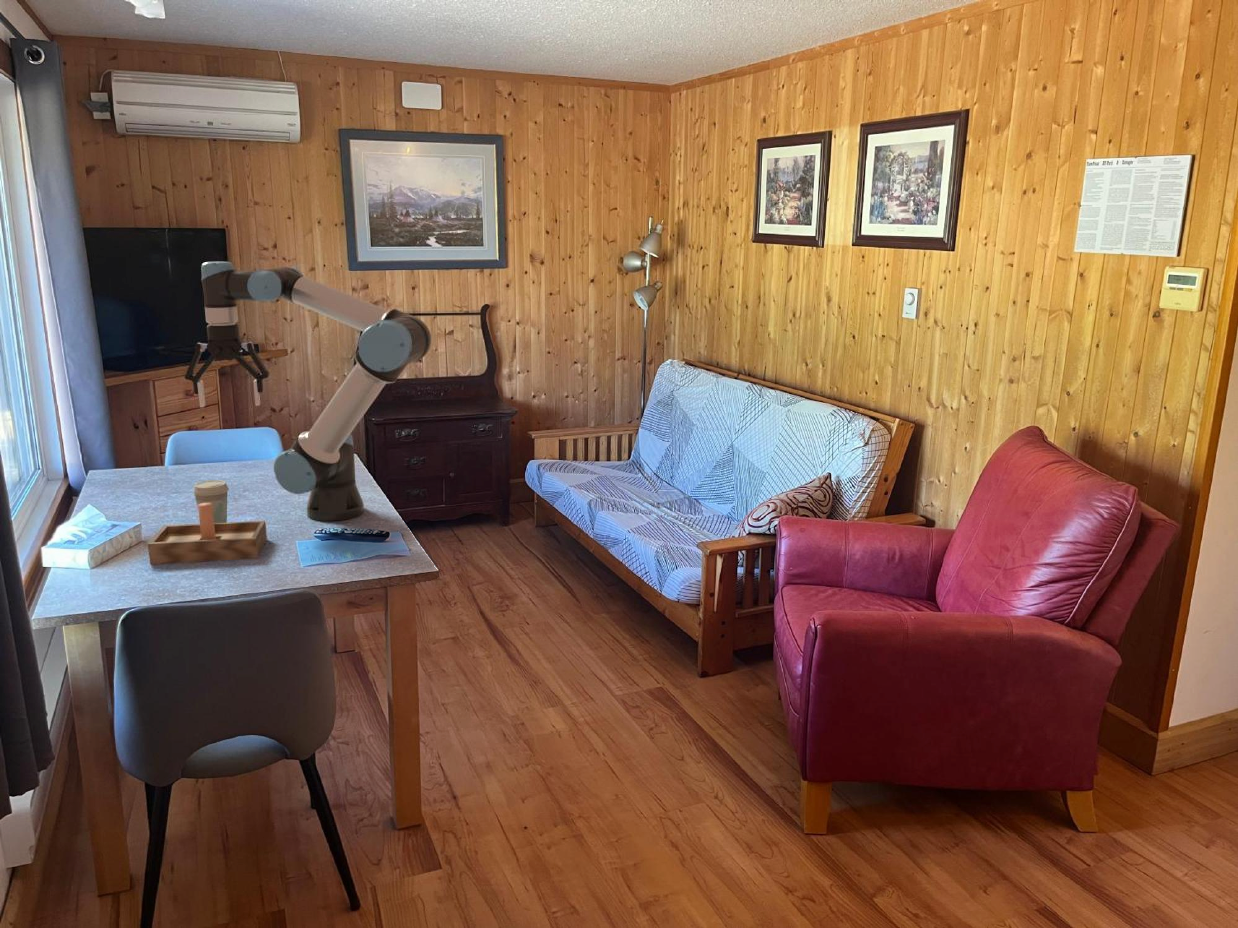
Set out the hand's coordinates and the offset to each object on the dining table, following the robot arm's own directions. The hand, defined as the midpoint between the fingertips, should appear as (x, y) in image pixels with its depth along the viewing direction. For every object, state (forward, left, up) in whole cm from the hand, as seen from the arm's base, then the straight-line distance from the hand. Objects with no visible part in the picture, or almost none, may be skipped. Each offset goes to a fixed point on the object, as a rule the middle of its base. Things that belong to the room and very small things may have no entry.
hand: (230, 405), depth 247 cm
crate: (+3, +23, -32) cm, 39 cm away
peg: (+3, +23, -32) cm, 39 cm away
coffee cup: (+6, +4, -32) cm, 33 cm away
